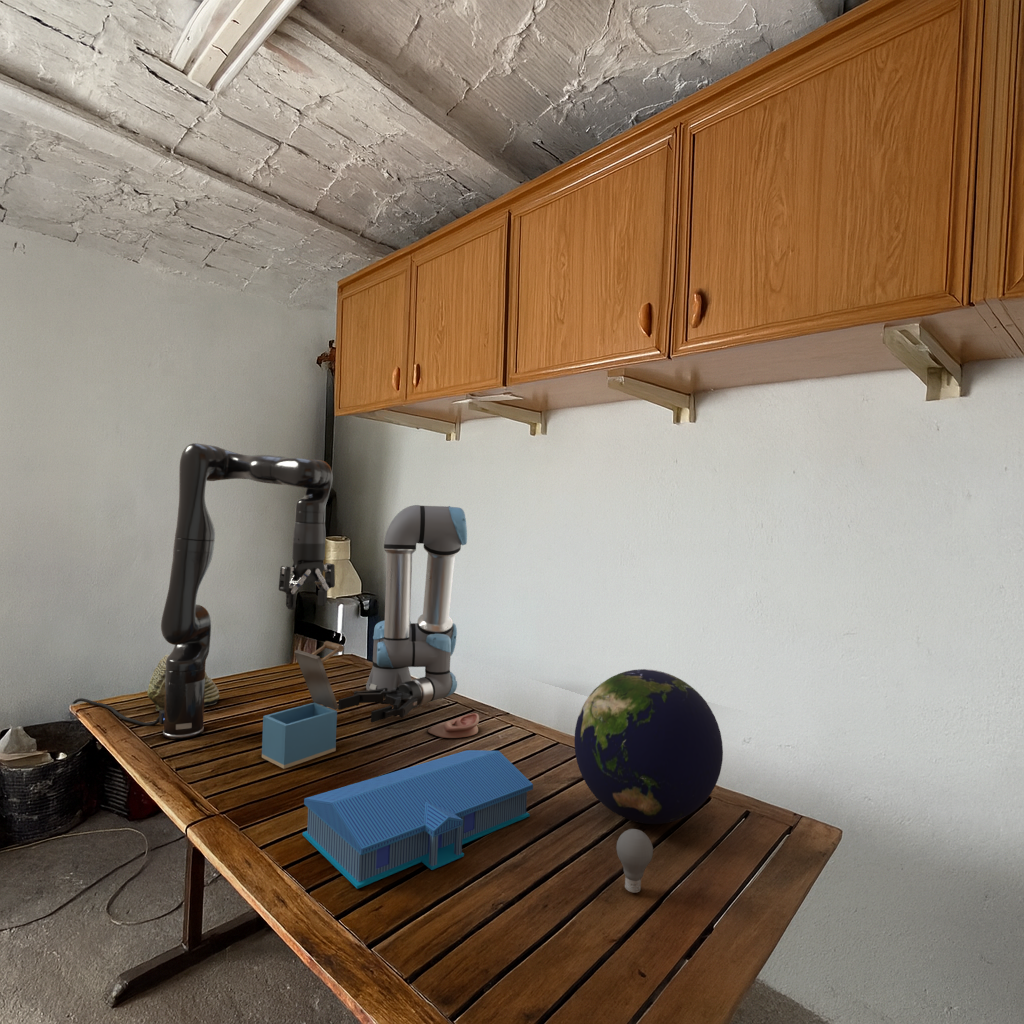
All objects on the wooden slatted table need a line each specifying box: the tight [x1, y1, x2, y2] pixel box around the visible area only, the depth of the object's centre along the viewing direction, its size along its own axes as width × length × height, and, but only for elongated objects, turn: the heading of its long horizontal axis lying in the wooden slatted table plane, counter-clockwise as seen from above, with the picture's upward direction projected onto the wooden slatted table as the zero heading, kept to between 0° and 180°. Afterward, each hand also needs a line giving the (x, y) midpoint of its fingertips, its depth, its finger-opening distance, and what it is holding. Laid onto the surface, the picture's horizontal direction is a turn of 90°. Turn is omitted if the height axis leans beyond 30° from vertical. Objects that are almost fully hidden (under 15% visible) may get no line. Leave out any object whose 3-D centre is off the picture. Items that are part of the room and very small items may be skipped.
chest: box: [261, 701, 338, 770], centre depth 155 cm, size 14×9×10 cm, turn 143°
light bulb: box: [615, 828, 654, 894], centre depth 106 cm, size 6×6×10 cm
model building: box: [302, 749, 534, 890], centre depth 123 cm, size 39×24×10 cm, turn 132°
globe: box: [573, 668, 724, 825], centre depth 131 cm, size 30×30×30 cm
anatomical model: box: [427, 712, 480, 739], centre depth 174 cm, size 13×4×12 cm
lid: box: [293, 640, 345, 711], centre depth 161 cm, size 15×9×9 cm
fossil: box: [147, 654, 221, 712], centre depth 185 cm, size 9×18×15 cm, turn 132°
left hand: (306, 607), depth 155 cm, fingers open, 8 cm apart
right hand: (355, 710), depth 168 cm, fingers open, 13 cm apart
